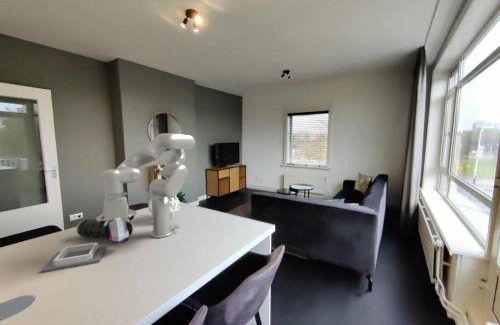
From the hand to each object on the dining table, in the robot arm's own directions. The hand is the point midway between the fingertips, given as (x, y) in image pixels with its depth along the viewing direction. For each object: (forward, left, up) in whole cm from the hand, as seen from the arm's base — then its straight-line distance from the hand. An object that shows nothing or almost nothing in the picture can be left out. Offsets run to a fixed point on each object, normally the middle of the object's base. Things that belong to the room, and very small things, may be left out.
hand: (118, 231), depth 105 cm
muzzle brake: (+10, -18, -10) cm, 23 cm away
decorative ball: (-21, -38, -10) cm, 45 cm away
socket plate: (+17, 0, -10) cm, 19 cm away
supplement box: (0, 0, -4) cm, 4 cm away
